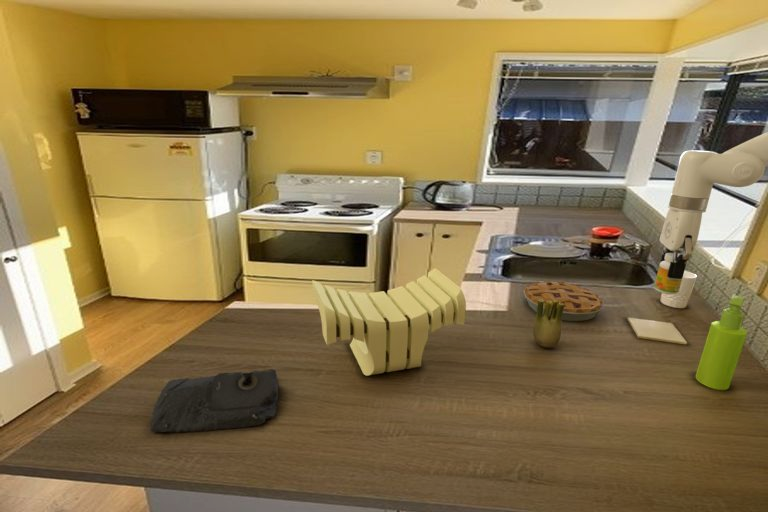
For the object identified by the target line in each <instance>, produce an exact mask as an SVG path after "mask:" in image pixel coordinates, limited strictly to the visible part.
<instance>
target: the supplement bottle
mask: <svg viewBox="0 0 768 512" xmlns="http://www.w3.org/2000/svg"><path fill="white" fill-rule="evenodd" d="M673 254H674V253H666V254H664V255H665V258H664V259H665V261H662V262H661V261H660V262H661V263H660V262H659V265H658V270H657V274H656V277H655V282H654V286H653V289H654V290H655V291H657V292H658V293H661V294H662V293H665V294H677V293H678V292H679V289H680V285H681V281H682V279H676V278H668V277H667V274H668V270H669V266H670V262H673ZM679 255H681V253H678V256H679Z"/></svg>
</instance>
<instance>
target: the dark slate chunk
mask: <svg viewBox="0 0 768 512" xmlns="http://www.w3.org/2000/svg"><path fill="white" fill-rule="evenodd" d="M277 377H278V376H277V371H276V370H275V369H273V368H271V369H266V370H254V371H251V372H242V371H238V372H237V371H235V372H219V373H217V375H211V376H199V377H196V378H195V377H194V378H188V377H187V378H176V379H172V380H169V381H168V382H166V384H165V385H164V387H163V388H162V390H161V392H160V394H159V396H158V397H157V399H156V402H155V405H154V406H153V412H152V417H151V418H150V420H149V422H150V423H149V425H150V431H151V432H154V433H155V432H159V433H170V434H171V433H177V434H178V433H181V432H182V433H187V432H190V433H194V432H208V431H218V430H225V429H227V430H230V429H236V428H238V429H239V428H241V429H243V428H249V427H255V426H260V425H263V424H264V423H265V422H266V420H267V419H273V418H275V416H276V413H277V409H278V408H277V406H276V403H277V401H278V399H279V398H278V397H279V396H278V395H279V394H278V392H279V382H278V381H279V380H278V378H277ZM248 383H250V385H247V384H248Z"/></svg>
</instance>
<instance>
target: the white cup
mask: <svg viewBox="0 0 768 512" xmlns="http://www.w3.org/2000/svg"><path fill="white" fill-rule="evenodd" d="M697 279H698V275H697V274H695V273H693V272H691V271H689V270H685V271H684V274H683V278H682V281H681V285H680V289H679V292H678V293H677V294H665V293H661V295H660V303H662V304H663V305H665V306H667V307H670V308H675V309H685V308H686V307H688V303H689V300H690V298H691V295H692V293H693V290H694V287H695V284H696V281H697Z"/></svg>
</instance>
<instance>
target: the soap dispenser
mask: <svg viewBox="0 0 768 512" xmlns="http://www.w3.org/2000/svg"><path fill="white" fill-rule="evenodd" d="M745 299H746V297H745V296H742V295H737V294H733V295H732V296H731V297H730V300H729V302H728V306H729V305H730V306H729V307H728V308H724V309H723V310H722V314H721V317H720V320H716V321H712V322H711V323H710V326H709V330H708V334H707V337H706V340H705V344H704V346H703V350H702V353H701V356H700V360H699V364H698V366H697V370H696V373H695V380H697V381H698V383H700V384H702V385H703V386H705V387H707V388H710V389H713V390H718V391H726V390H728V389H729V388H730V386H731V383H732V380H733V377H734V373H735V370H736V368H737V365H738V362H739V358H740V355H741V353H742V349H743V347H744V343H745V340H746V338H747V335H748V330H747V329H745V328H744V327H742V324H743V321H744V317H745V314H744V312H742V311H741V309H742V306H743V303H744V302H745Z"/></svg>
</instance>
